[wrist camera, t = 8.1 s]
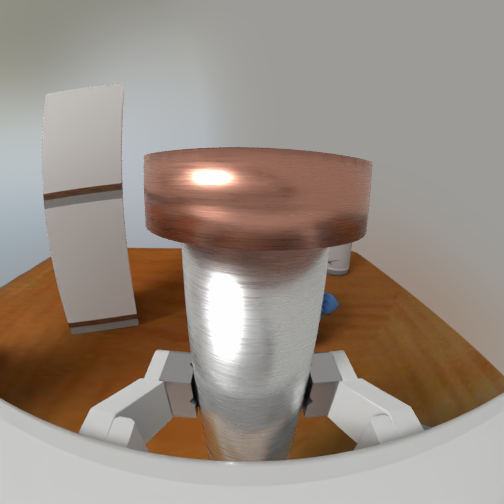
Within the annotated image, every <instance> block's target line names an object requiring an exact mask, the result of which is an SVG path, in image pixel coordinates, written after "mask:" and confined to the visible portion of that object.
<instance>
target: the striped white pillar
mask: <svg viewBox="0 0 504 504" xmlns="http://www.w3.org/2000/svg"><path fill="white" fill-rule="evenodd" d="M123 98H124V84H116V85H105V86H95V87H87V88H80V89H73V90H67V91H61V92H56V93H50V94H46V100H45V110H44V122H43V139H42V175H43V195H44V207H45V216H46V225H47V232H48V239H49V245H50V251H51V257H52V262H53V267H54V272H55V276H56V280H57V285H58V289H59V293H60V297H61V300H62V304H63V307H64V311H65V314H66V318H67V321H68V324H69V327H70V330H71V333H72V334H80V333H88V332H96V331H103V330H110V329H117V328H124V327H131V326H137V325H139V322H138V316H137V310H136V304H135V297H134V291H133V286H132V279H131V273H130V266H129V258H128V250H127V241H126V232H125V221H124V207H123V188H122V118H123Z"/></svg>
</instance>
